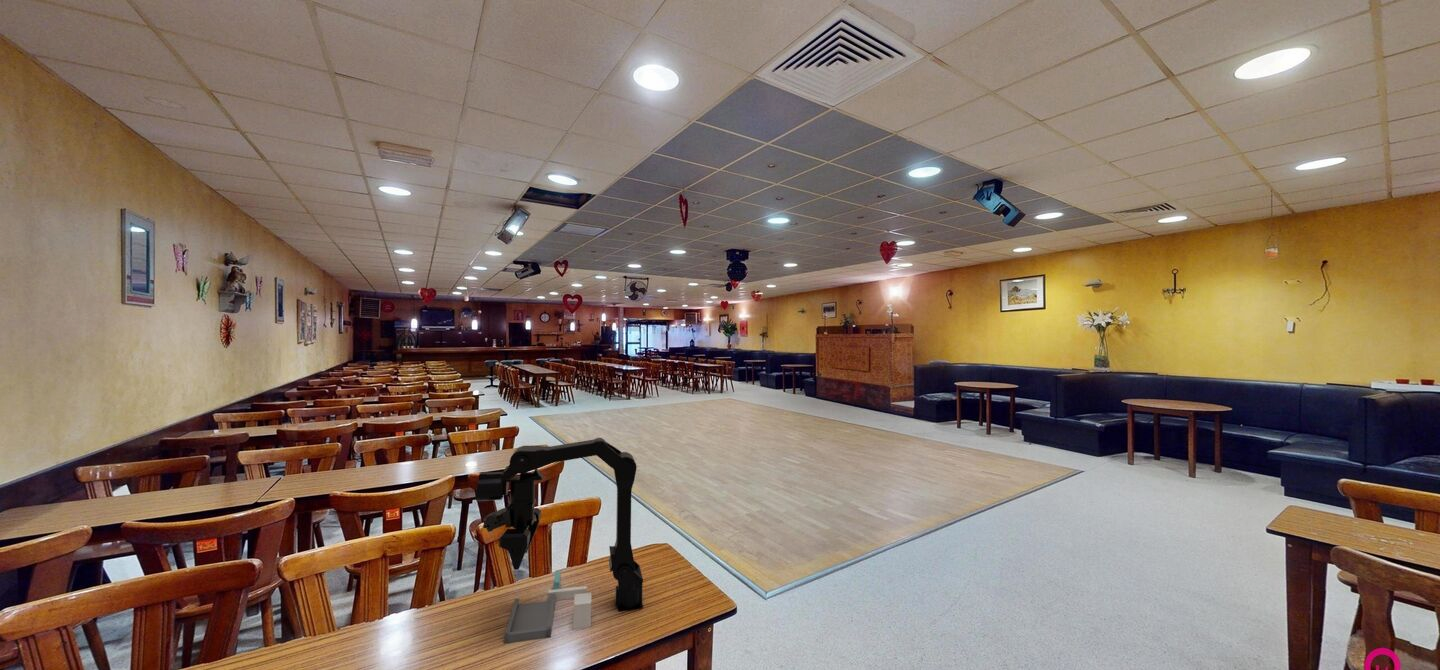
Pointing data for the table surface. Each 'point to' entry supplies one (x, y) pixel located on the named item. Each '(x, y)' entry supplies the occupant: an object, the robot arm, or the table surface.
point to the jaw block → (582, 611)
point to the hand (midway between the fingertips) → (520, 560)
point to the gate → (564, 589)
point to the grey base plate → (530, 621)
